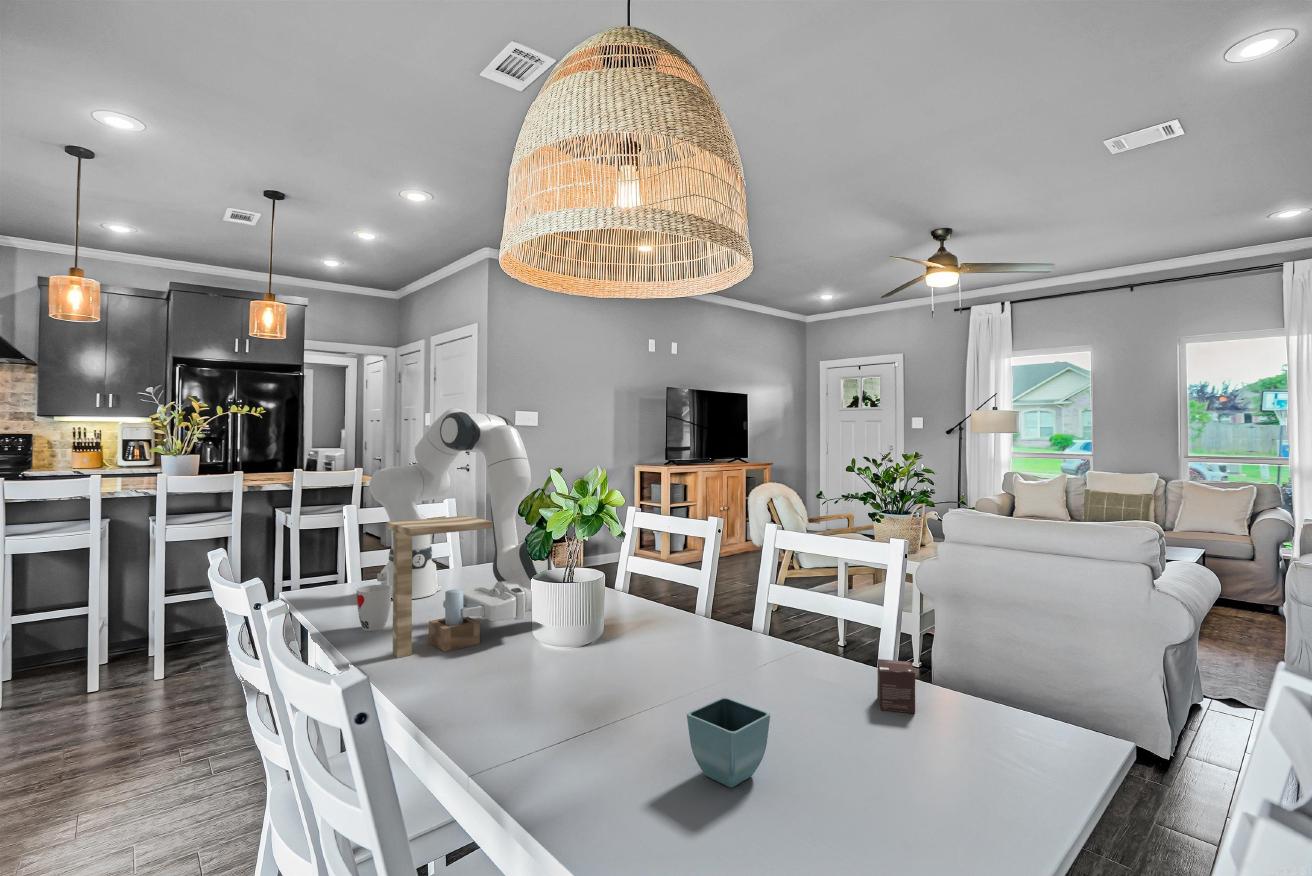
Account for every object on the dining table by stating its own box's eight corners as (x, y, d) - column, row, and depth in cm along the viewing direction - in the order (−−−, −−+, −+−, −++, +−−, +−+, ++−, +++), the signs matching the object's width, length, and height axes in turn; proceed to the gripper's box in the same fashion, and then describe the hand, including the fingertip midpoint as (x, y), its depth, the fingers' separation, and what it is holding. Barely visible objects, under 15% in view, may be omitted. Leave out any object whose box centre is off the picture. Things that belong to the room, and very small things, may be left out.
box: (911, 701, 118) (912, 661, 118) (915, 714, 112) (916, 673, 112) (876, 697, 120) (877, 658, 120) (879, 710, 114) (879, 669, 114)
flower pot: (684, 775, 92) (684, 712, 92) (723, 754, 98) (724, 695, 98) (732, 800, 85) (733, 733, 85) (771, 776, 92) (771, 713, 92)
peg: (442, 642, 149) (442, 591, 149) (458, 639, 152) (458, 588, 152) (449, 647, 146) (449, 594, 146) (466, 643, 149) (466, 591, 149)
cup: (356, 625, 162) (356, 586, 162) (390, 622, 166) (391, 583, 166) (356, 634, 155) (356, 593, 155) (392, 630, 158) (392, 590, 158)
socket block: (428, 642, 149) (428, 621, 149) (463, 635, 155) (463, 614, 155) (444, 651, 143) (444, 629, 143) (479, 643, 149) (479, 622, 149)
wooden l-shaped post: (383, 648, 145) (384, 522, 145) (464, 631, 158) (465, 515, 158) (407, 664, 135) (408, 529, 135) (492, 645, 148) (492, 521, 148)
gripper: (486, 579, 166) (434, 587, 157) (527, 593, 151) (472, 603, 141) (486, 603, 166) (434, 613, 157) (527, 620, 151) (472, 632, 141)
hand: (452, 608), depth 149 cm, fingers open, 8 cm apart
